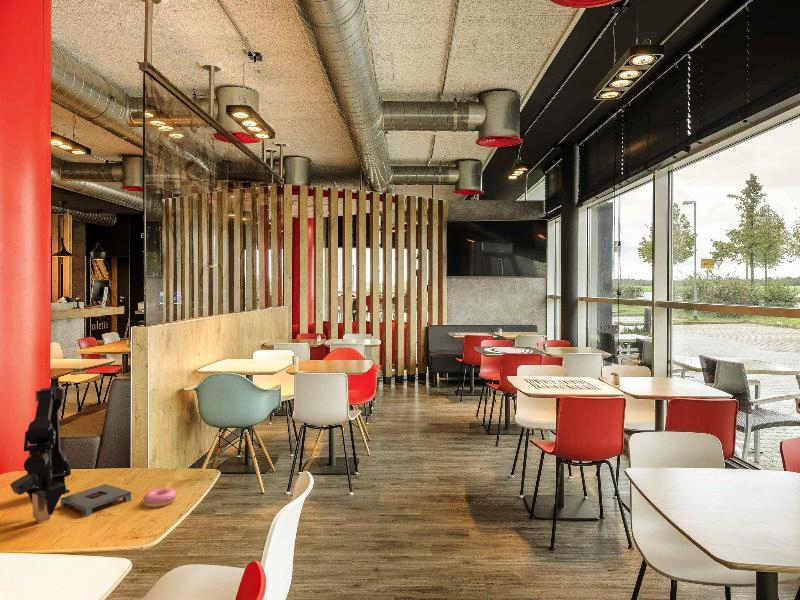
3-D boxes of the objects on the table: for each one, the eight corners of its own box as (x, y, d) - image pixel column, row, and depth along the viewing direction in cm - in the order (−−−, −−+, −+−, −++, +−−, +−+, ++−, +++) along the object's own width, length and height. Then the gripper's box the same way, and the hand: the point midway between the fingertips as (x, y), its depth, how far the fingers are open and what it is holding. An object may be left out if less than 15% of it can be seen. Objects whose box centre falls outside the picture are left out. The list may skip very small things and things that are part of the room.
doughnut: (181, 496, 204) (180, 484, 204) (170, 508, 193) (170, 496, 193) (150, 497, 204) (149, 486, 204) (137, 509, 193) (137, 497, 193)
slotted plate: (60, 506, 196) (60, 498, 196) (105, 491, 210) (105, 483, 210) (86, 516, 188) (85, 507, 187) (131, 500, 201) (130, 491, 201)
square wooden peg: (33, 522, 184) (32, 493, 184) (47, 517, 188) (46, 488, 187) (38, 524, 182) (37, 495, 182) (53, 519, 186) (52, 490, 185)
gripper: (-1, 466, 182) (1, 514, 183) (28, 476, 172) (30, 527, 173) (36, 457, 192) (38, 502, 192) (66, 466, 182) (67, 513, 182)
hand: (43, 511), depth 185 cm, fingers open, 9 cm apart
